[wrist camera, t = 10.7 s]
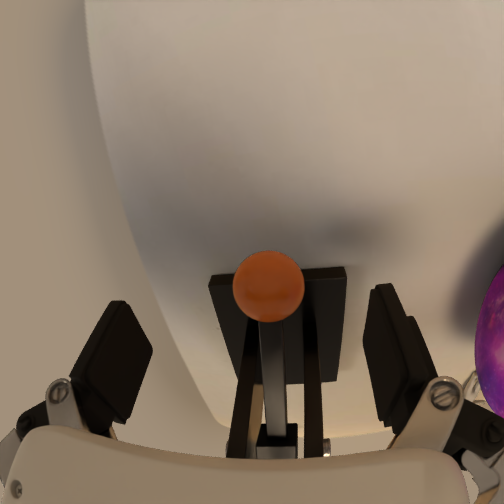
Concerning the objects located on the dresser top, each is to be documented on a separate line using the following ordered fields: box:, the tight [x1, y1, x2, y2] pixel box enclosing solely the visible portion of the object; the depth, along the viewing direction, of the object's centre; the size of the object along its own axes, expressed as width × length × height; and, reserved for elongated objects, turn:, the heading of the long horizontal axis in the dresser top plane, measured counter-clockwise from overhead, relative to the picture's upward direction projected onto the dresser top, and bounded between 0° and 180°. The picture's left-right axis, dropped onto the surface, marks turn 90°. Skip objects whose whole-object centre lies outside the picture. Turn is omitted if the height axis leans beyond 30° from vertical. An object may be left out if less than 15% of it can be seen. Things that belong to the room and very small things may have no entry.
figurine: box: [464, 372, 486, 404], centre depth 26 cm, size 8×5×12 cm
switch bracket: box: [208, 267, 347, 459], centre depth 17 cm, size 12×9×12 cm
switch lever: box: [233, 251, 305, 459], centre depth 14 cm, size 13×3×3 cm
